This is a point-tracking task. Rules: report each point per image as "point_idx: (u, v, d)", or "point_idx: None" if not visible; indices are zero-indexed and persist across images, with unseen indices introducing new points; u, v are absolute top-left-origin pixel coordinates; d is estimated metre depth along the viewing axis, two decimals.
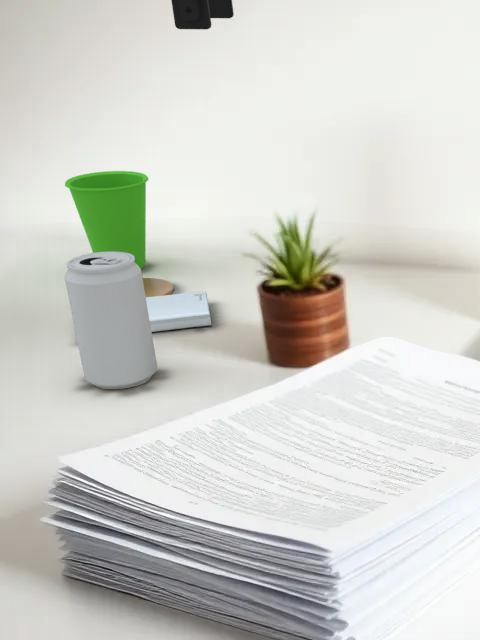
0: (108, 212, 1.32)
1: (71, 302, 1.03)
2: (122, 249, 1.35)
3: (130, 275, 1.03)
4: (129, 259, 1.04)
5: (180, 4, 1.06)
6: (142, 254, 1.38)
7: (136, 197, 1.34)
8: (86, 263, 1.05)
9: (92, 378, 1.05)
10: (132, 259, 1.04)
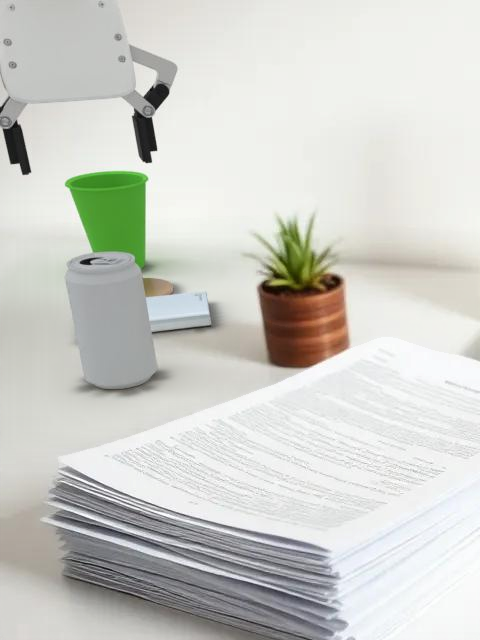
0: (108, 212, 1.32)
1: (71, 302, 1.03)
2: (122, 249, 1.35)
3: (130, 275, 1.03)
4: (129, 259, 1.04)
5: (6, 145, 0.97)
6: (142, 254, 1.38)
7: (136, 197, 1.34)
8: (86, 263, 1.05)
9: (92, 378, 1.05)
10: (132, 259, 1.04)
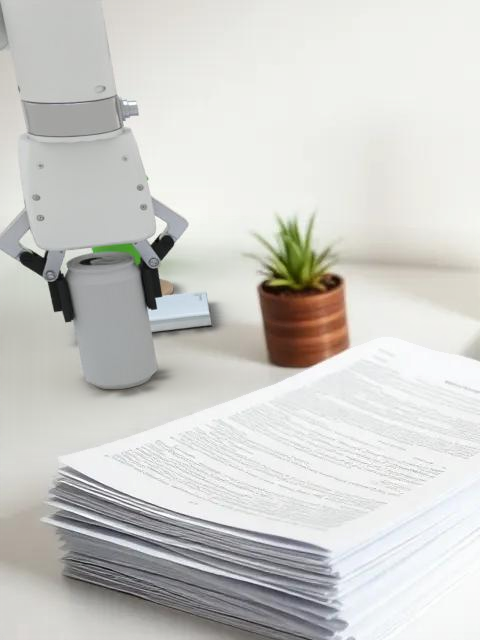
0: None
1: (71, 302, 1.03)
2: (122, 249, 1.35)
3: (130, 275, 1.03)
4: (129, 259, 1.04)
5: None
6: None
7: None
8: (86, 263, 1.05)
9: (92, 378, 1.05)
10: (132, 259, 1.04)
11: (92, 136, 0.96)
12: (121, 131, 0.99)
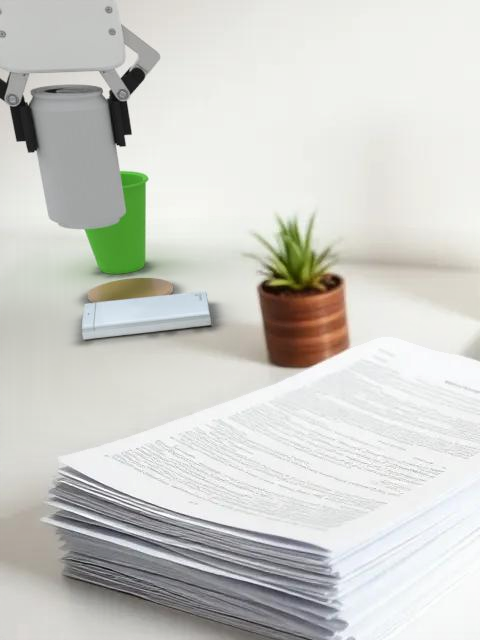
0: None
1: (34, 132, 0.98)
2: (122, 249, 1.35)
3: (97, 105, 0.98)
4: (97, 90, 0.99)
5: None
6: (142, 254, 1.38)
7: (136, 197, 1.34)
8: None
9: (56, 216, 1.00)
10: (100, 90, 0.99)
11: None
12: None
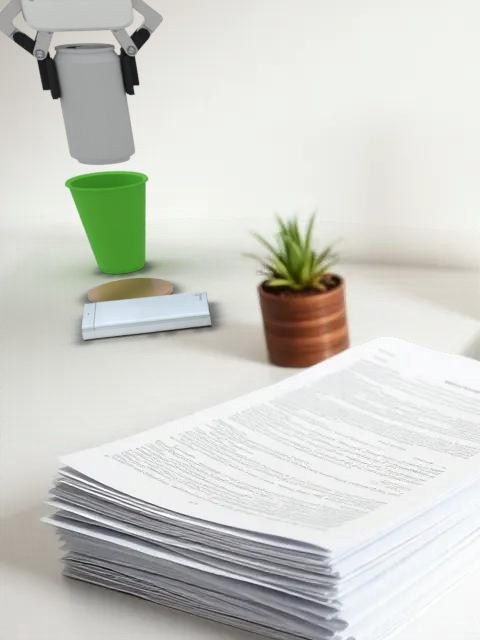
0: (108, 212, 1.32)
1: (58, 81, 1.16)
2: (122, 249, 1.35)
3: (110, 59, 1.17)
4: (110, 46, 1.18)
5: None
6: (142, 254, 1.38)
7: (136, 197, 1.34)
8: None
9: (77, 153, 1.19)
10: (112, 46, 1.18)
11: None
12: None
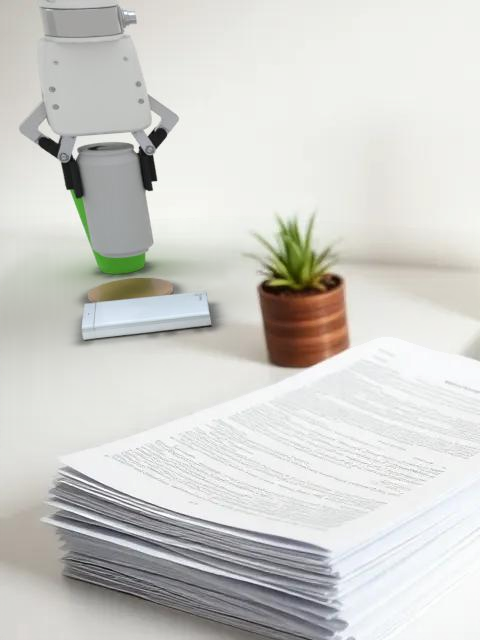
0: None
1: (81, 181, 1.23)
2: None
3: (130, 159, 1.23)
4: (129, 146, 1.24)
5: (63, 174, 1.23)
6: (142, 254, 1.38)
7: None
8: None
9: (99, 247, 1.25)
10: (132, 147, 1.24)
11: (98, 38, 1.16)
12: (122, 36, 1.19)
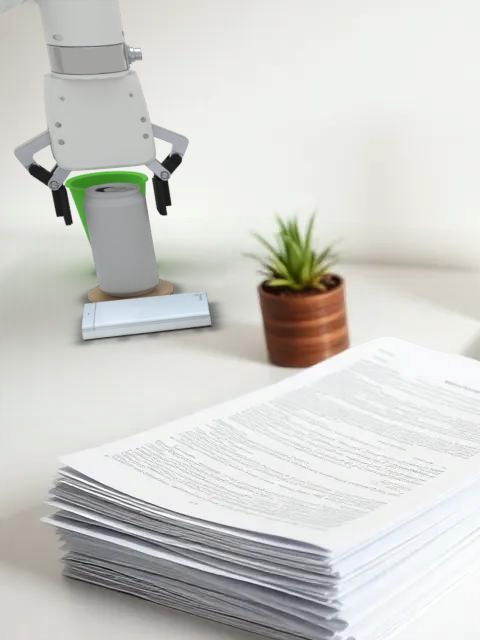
0: None
1: (88, 222, 1.25)
2: None
3: (137, 200, 1.25)
4: (136, 188, 1.26)
5: (53, 201, 1.23)
6: None
7: None
8: (100, 192, 1.27)
9: (105, 287, 1.27)
10: (138, 188, 1.26)
11: (104, 75, 1.18)
12: (128, 72, 1.21)
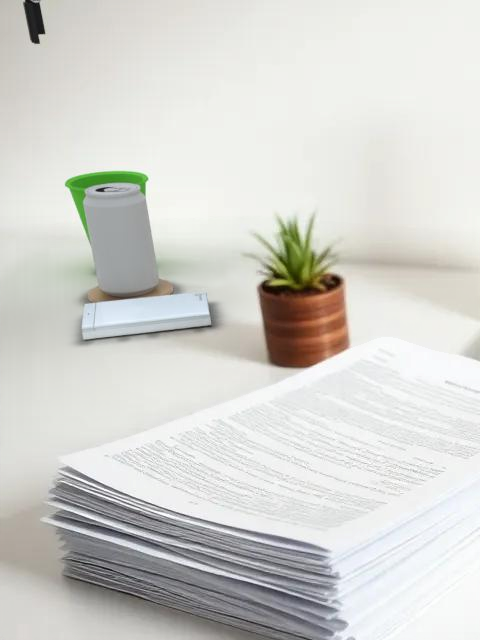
0: None
1: (88, 222, 1.25)
2: None
3: (137, 200, 1.25)
4: (136, 188, 1.26)
5: None
6: None
7: None
8: (100, 192, 1.27)
9: (105, 287, 1.27)
10: (138, 188, 1.26)
11: None
12: None
